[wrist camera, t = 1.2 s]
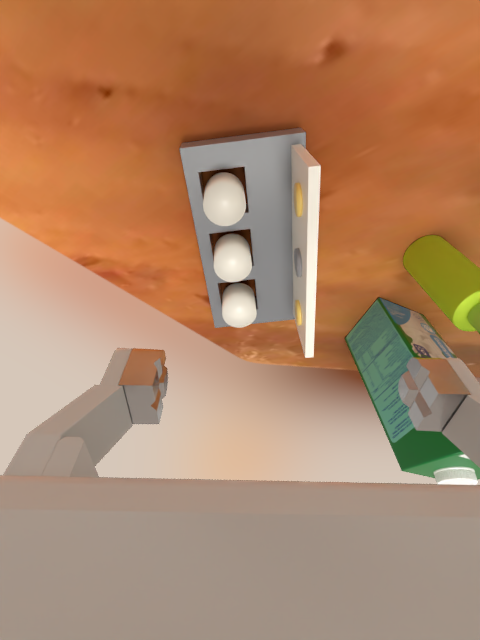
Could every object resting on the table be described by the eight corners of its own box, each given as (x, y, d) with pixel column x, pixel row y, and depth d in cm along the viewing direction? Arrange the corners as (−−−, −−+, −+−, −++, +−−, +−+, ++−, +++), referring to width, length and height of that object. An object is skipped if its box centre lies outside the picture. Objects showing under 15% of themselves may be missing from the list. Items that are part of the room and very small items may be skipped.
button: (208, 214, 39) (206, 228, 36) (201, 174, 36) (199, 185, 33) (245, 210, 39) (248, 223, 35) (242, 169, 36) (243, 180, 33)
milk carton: (343, 338, 55) (410, 492, 36) (378, 296, 50) (477, 448, 31) (387, 353, 58) (471, 504, 38) (424, 314, 53) (542, 465, 33)
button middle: (217, 267, 43) (216, 284, 40) (211, 235, 40) (210, 250, 37) (251, 263, 43) (253, 280, 40) (248, 231, 40) (250, 246, 37)
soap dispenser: (410, 285, 49) (497, 390, 34) (398, 248, 46) (489, 348, 30) (451, 266, 48) (563, 368, 32) (442, 226, 44) (564, 320, 28)
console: (215, 315, 51) (213, 373, 42) (182, 142, 37) (167, 171, 27) (300, 306, 51) (317, 362, 42) (300, 127, 36) (327, 151, 27)
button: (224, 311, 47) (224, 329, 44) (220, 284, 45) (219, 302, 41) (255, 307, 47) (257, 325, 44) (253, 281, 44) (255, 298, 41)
